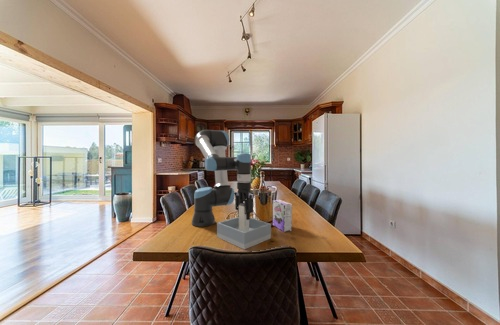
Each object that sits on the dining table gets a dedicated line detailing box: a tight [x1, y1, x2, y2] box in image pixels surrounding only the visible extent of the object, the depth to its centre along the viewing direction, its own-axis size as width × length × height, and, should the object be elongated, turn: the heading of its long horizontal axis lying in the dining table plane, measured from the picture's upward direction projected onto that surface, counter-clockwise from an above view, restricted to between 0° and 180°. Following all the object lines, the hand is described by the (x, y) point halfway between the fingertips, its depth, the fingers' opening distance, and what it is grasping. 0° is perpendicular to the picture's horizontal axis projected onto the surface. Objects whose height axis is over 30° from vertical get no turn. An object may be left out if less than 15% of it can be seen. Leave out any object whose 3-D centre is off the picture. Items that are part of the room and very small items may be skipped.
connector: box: [239, 202, 249, 232], centre depth 118 cm, size 4×4×15 cm
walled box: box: [216, 216, 272, 250], centre depth 118 cm, size 22×20×8 cm
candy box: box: [272, 199, 293, 233], centre depth 134 cm, size 14×6×16 cm, turn 23°
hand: (243, 224), depth 118 cm, fingers closed on connector, 4 cm apart
